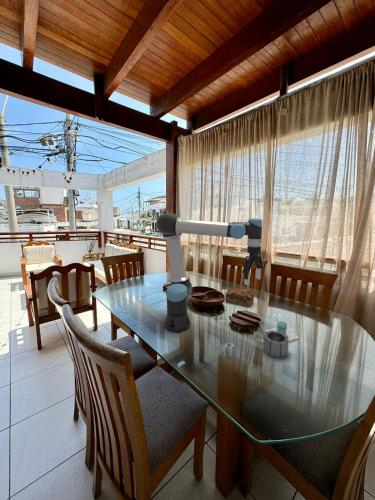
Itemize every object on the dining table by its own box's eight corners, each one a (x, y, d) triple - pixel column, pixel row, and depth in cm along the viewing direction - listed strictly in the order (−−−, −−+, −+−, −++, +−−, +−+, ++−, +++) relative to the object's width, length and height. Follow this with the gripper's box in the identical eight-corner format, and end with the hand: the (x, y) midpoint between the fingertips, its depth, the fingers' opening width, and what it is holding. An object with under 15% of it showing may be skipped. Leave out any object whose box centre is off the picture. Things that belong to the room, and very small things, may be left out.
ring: (274, 360, 96) (275, 345, 95) (258, 346, 106) (259, 333, 104) (292, 354, 100) (293, 340, 98) (275, 341, 109) (276, 329, 108)
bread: (254, 302, 156) (254, 289, 154) (250, 308, 147) (251, 294, 145) (229, 297, 165) (229, 285, 164) (224, 302, 156) (224, 289, 155)
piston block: (281, 344, 107) (282, 331, 106) (264, 332, 118) (265, 320, 117) (299, 339, 111) (300, 326, 110) (281, 327, 122) (282, 316, 121)
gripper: (249, 249, 111) (247, 288, 115) (270, 244, 129) (268, 278, 133) (236, 248, 116) (235, 285, 120) (258, 242, 134) (256, 275, 138)
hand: (252, 281), depth 126 cm, fingers open, 13 cm apart
